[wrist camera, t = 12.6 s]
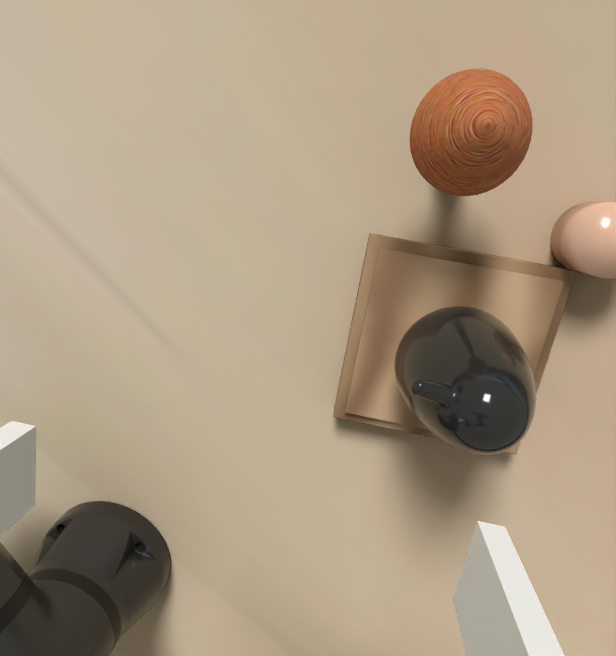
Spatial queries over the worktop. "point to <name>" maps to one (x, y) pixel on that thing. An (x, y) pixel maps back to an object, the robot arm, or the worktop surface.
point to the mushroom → (471, 132)
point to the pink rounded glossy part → (587, 239)
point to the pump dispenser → (467, 379)
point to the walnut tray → (430, 295)
